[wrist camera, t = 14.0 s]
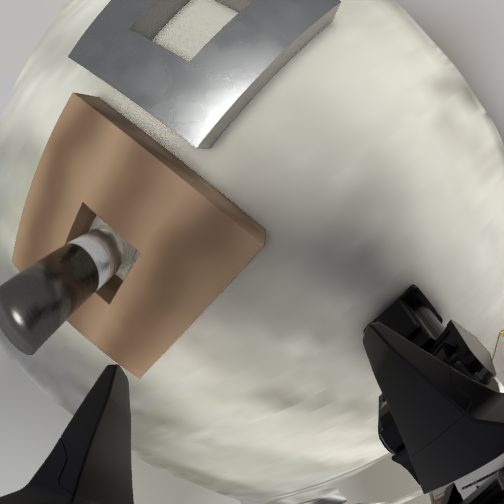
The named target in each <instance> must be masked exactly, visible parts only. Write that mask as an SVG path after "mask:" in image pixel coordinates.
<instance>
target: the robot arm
mask: <svg viewBox="0 0 504 504" xmlns="http://www.w3.org/2000/svg"><path fill="white" fill-rule="evenodd" d="M414 290H415V292H413V291H414ZM412 292H413V293H412ZM442 322H443V320H442V318H441V317H440V315H439V314H438V313H437V311H436V310H435V309H434V307H433V306H432V305H431V304H430V302H429V301H428V300H427V298H426V297H425V296H424V295H423V293H422V292H421V291H420V290H419V288H418V287H417V286H416V285H413V286H411V287H410V288H409V289H408V290H407V291H406V292H405V293H404V294H403V295H402V296H401V297H400V298H399V299H398V300H397V301H396V302H395V303H393V304H392V305H391V306H390V307H389V308H388V309H387V310H386V311H385V312H384V313H383V314H382V315H380V316H379V317H378V318H377V319H376V320H375V321H374V322H373V323H371V324H369V325H368V326H367V328H366V329H365V330H364V337H363V344H364V347H365V350H366V353H367V355H368V358H369V361H370V364H371V367H372V370H373V373H374V375H375V378H376V380H377V382H378V385H379V387H380V389H381V391H382V394H381V395H380V396H379V419H378V434H379V438H380V440H381V442H382V444H383V445H384V447H385V448H386V449H387V450H388V451H389V452H391V453H392V454H394V455H393V456H392V460H393V461H395V462H397V463H399V464H401V465H402V466H403V467H404V468H406V469H407V470H408V471H409V472H410V474H412V476H413V477H414V479H415V480H416V481H417V482H418V484H419V485H421V488H422V491H423V493H424V494H426V493H428V492H431V491H433V490H436V489H438V488H440V487H443V486H445V485H447V484H449V483H452V482H453V483H452V484H451V485H449V486H448V487H447V488H446V490H445V493H444V495H443V498H442V501H441V503H440V504H504V393H500V390H499V386H498V383H497V382H496V381H495V379H494V377H495V376H496V371H495V368H494V365H493V362H492V359H491V356H490V353H489V352H488V350H487V349H486V348H485V347H484V346H483V345H482V344H481V342H480V341H479V340H478V339H477V338H476V337H475V336H474V335H472V334H471V333H470V332H468V331H467V330H465V329H464V328H463V327H461V326H460V325H458V324H457V323H456V322H454V321H453V320H450V321H449V323H448V324H447V327H446V328H444V327H443V325H442ZM0 504H134V502H133V488H132V470H131V412H130V399H129V383H128V379H127V376H126V375H125V373H124V372H123V370H122V369H121V367H120V366H119V365H117V364H116V365H108V366H107V367H106V368H105V369H104V371H103V372H102V374H101V375H100V377H99V378H98V380H97V381H96V383H95V384H94V386H93V387H92V389H91V390H90V392H89V393H88V395H87V396H86V398H85V399H84V401H83V402H82V404H81V405H80V407H79V408H78V410H77V411H76V413H75V415H74V416H73V418H72V419H71V421H70V423H69V424H68V426H67V428H66V429H65V431H64V432H63V434H62V435H61V438H60V439H59V440H58V442H57V444H56V445H55V447H54V449H53V450H52V452H51V453H50V455H49V456H48V457H47V459H46V460H45V462H44V463H43V464H42V466H41V467H40V468H39V470H38V471H37V472H36V474H35V475H34V476H33V478H32V479H31V480H30V482H29V483H28V484H27V485H26V486H25V487H24V488H22V489H20V490H18V491H16V492H13V493H11V494H8V495H5V496H2V497H0Z"/></svg>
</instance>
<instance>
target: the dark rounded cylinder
mask: <svg viewBox="0 0 504 504" xmlns="http://www.w3.org/2000/svg"><path fill="white" fill-rule="evenodd" d="M135 253H136V249H135V248H134V247H133V246H132V245H130V244H129V243H128V242H127V241H126V240H125V239H123V238H122V237H121V236H120V235H119V234H118V233H117V232H115V231H114V230H113V229H112V228H111V227H110V226H109V225H108V224H106V223H104V224H102V225H100V226H98V227H96V228H94V229H92V230H90V231H88V232H87V233H85V234H83V235H81V236H79V237H78V238H76V239H74V240H72V241H70V242H69V243H67V244H65V245H64V246H62V247H60V248H58V249H57V250H55V251H53V252H52V253H50V254H48V255H47V256H45V257H43V258H42V259H40V260H39V261H37V262H35V263H34V264H32V265H31V266H29V267H28V268H26V269H24V270H23V271H21V272H20V273H18V274H17V275H15V276H14V277H12V278H11V279H9V280H8V281H7V282H5V283H4V284H2V285H1V286H0V329H1V330H2V332H3V333H4V335H5V336H6V337H7V339H8V340H9V341H10V342H11V343H12V344H13V345H14V346H15V347H16V348H17V349H18V350H20V351H21V352H23V353H25V354H27V355H33V354H34V353H35V352H36V351H37V350H38V349H39V348H40V347H41V346H42V345H43V343H44V342H45V341H46V340H47V339H48V338H49V337H50V336H51V335H52V334H53V333H54V332H55V331H56V330H57V329H58V328H59V327H60V326H61V325H62V324H63V323H64V322H65V321H66V320H67V319H68V318H69V317H70V316H71V315H72V314H73V313H74V312H75V311H76V310H77V309H78V308H79V307H80V306H81V305H82V304H83V303H84V302H85V301H86V300H87V299H88V298H90V297H91V296H92V295H93V294H94V293H95V292H96V291H97V290H98V289H99V288H100V287H101V286H102V285H104V284H105V283H106V282H107V281H108V280H109V279H110V278H111V277H112V276H113V275H115V274H116V273H117V272H118V271H119V270H120V269H121V268H122V267H124V266H125V265H126V264H127V263H128V262H129V261H130V260H132V258H133V257H134V255H135Z"/></svg>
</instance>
